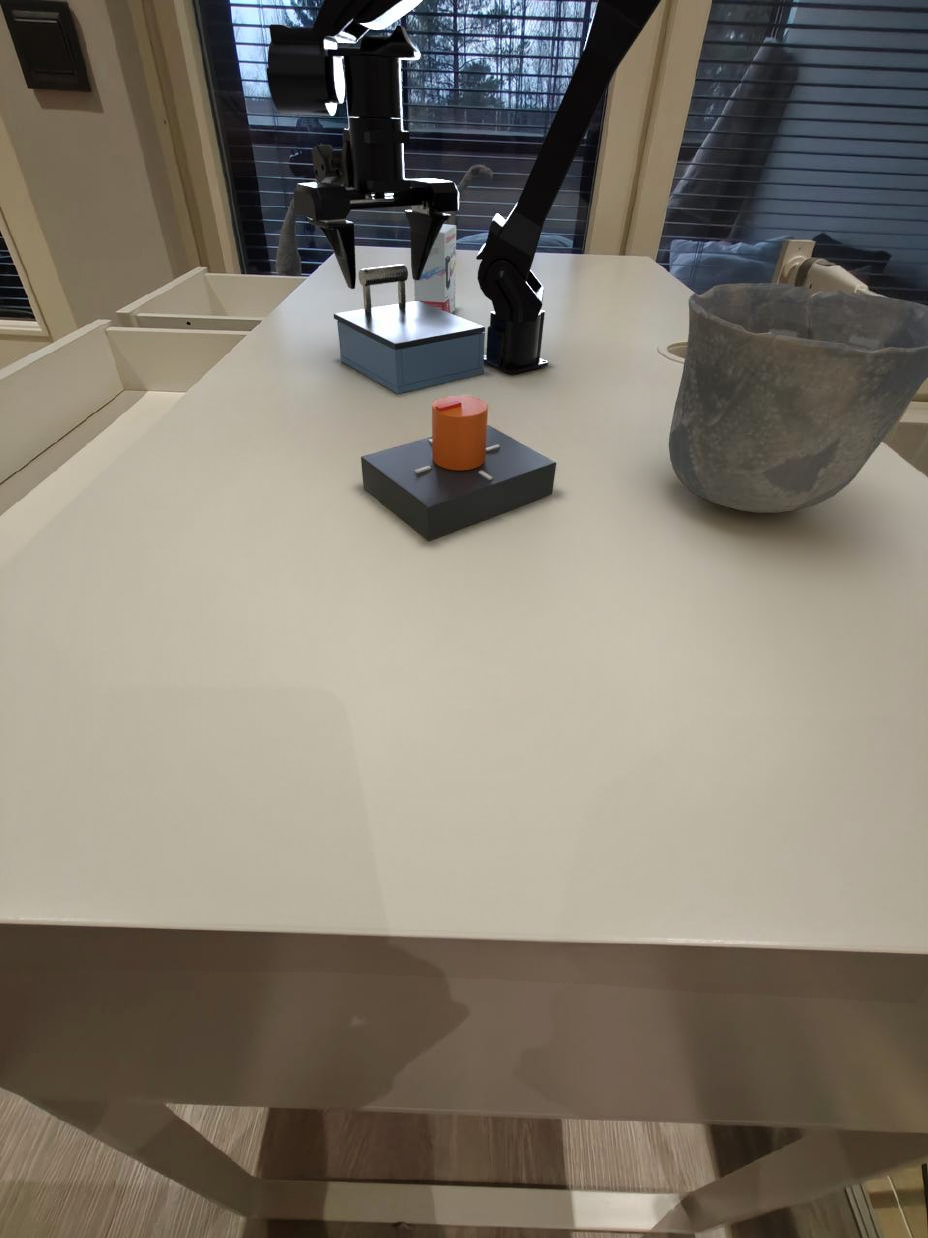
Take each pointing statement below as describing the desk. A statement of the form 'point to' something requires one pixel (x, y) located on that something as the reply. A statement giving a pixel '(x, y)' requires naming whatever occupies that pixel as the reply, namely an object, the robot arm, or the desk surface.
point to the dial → (459, 432)
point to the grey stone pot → (790, 391)
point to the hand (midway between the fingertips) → (384, 283)
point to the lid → (403, 315)
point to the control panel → (456, 483)
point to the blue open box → (412, 359)
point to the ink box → (439, 272)
